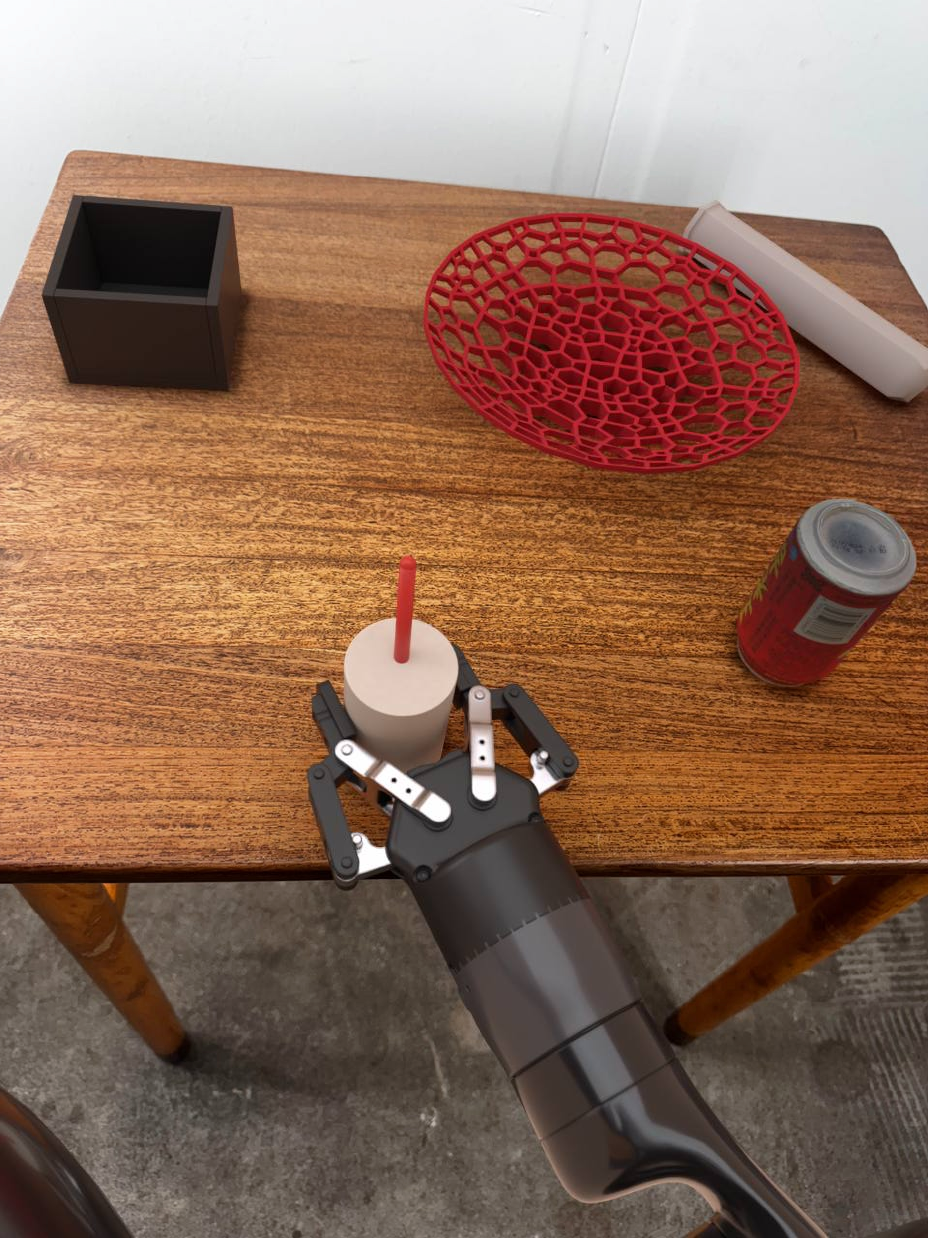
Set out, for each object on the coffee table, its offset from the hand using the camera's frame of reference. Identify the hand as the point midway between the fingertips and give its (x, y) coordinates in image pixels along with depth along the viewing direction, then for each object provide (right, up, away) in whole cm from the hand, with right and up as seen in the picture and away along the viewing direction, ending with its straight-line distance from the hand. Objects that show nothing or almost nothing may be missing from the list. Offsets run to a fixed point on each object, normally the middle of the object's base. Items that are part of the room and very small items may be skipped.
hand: (379, 667), depth 51 cm
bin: (-19, +25, +21) cm, 38 cm away
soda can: (+26, 0, +11) cm, 28 cm away
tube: (+34, +29, +31) cm, 54 cm away
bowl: (+16, +22, +24) cm, 37 cm away
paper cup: (0, -5, +4) cm, 6 cm away
